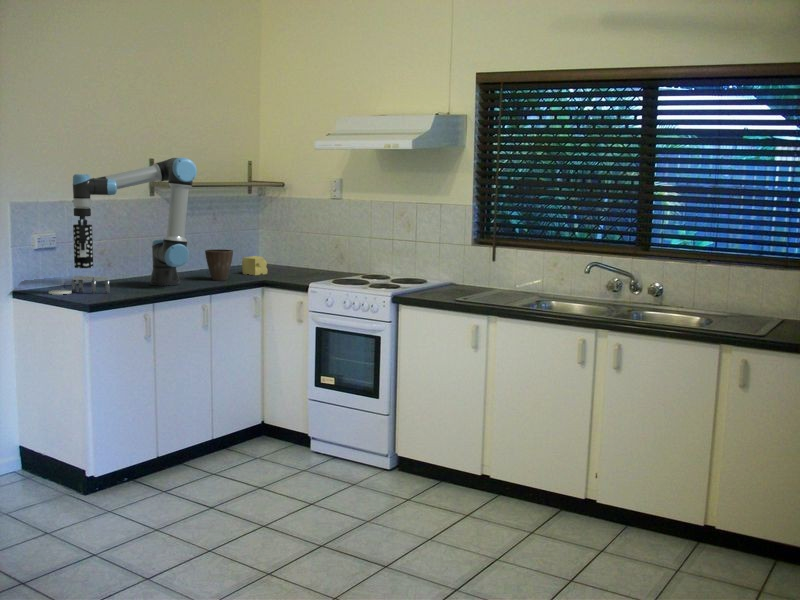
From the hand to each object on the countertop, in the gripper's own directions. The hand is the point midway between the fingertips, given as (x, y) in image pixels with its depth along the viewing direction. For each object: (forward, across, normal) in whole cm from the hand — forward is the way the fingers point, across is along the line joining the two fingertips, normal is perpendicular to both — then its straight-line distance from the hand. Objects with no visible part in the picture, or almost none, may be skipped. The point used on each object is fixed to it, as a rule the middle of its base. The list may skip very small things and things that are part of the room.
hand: (83, 256), depth 391 cm
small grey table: (+17, +1, +2) cm, 18 cm away
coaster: (+18, 0, -11) cm, 21 cm away
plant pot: (+17, -39, +67) cm, 80 cm away
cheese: (+18, -62, +89) cm, 110 cm away
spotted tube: (+6, 0, 0) cm, 6 cm away
